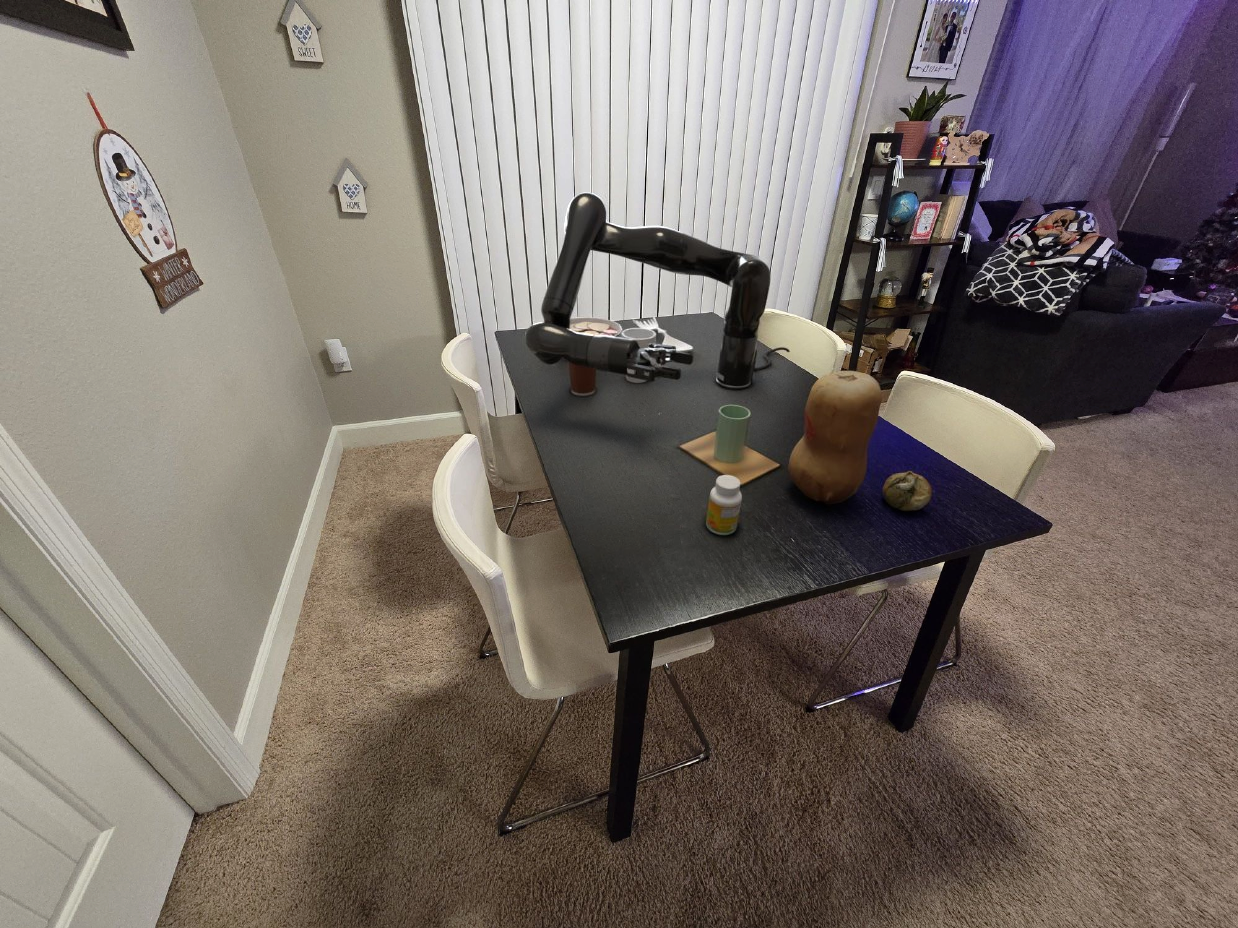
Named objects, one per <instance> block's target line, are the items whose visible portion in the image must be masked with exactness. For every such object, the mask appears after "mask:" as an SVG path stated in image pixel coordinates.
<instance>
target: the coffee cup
mask: <svg viewBox="0 0 1238 928" xmlns="http://www.w3.org/2000/svg"><path fill="white" fill-rule="evenodd" d="M567 365H568V366H567V367H568V374H569V380H570V389H571V393H572V394H573V395H576V396H580V397H585V396H586V397H587V396H590V395H593V394H594V393H595V392H596V384H597V371H598V370H597V369H594V368H590V367H584V366H578V365H574V364H572V363H570V362H568V361H567Z"/></svg>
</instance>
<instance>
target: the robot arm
mask: <svg viewBox="0 0 1238 928" xmlns="http://www.w3.org/2000/svg"><path fill="white" fill-rule="evenodd" d="M607 220H608V212H607V207H606V205H605V203H604V201H603V200H602V198H601V197H599V196H598V195H596V194H595V193H592V192H582V193H579V194H577V195H575V196H574V197H573V198H572V199H571V201H570V203H569V204H568V207H567V210H566V215H565V219H564V227H563V228H564V238H563V242H562V246H561V249H560V252H559V255H558V257H557V259H556V263H555V266H554V268H553V271H552V273H551V276H550V279H549V282H548V284H547V288H546V290H545V294H544V297H543V300H542V303H541V307H540V312H541V316H542V319H543V321H540V322H536V323H534V324H531V325H530V326H529V327H528V328H527V329H526V331H525V333H524V342H525V345H526V347H527V348H528V350H529V351H530V352H531V353H532V354H533V355H534V356H535V357H536V358H537V359H539V361H540V362H542V363H543V364H545V365H550V366H551V365H552V366H553V365H555V364H558V363H559V362H560V361H562V359H564V360H566V361H567V363H568V362H570V363H572V364H574V365H578V366H584V367H590V368H594V369H597V370H596V371H600V372H605V373H606V372H607V373H612V374H617V375H623V376H626V375H627V376H628V377H632V378H637V379H642V380H647V381H646V382H655V381H656V379H658V380H659V379H661V378H664V379H668V380H675V381H679V380H680V379H681V376H682V375H681V374H682V373H681V372H682V370H681V368H680V367H674V366H668V365H666V364H668V363H675V364H683V365H688V366H691V365H692V364H693V362H694V354H693V353H691V352H690V353H689V352H686V353H684V352H678V351H676V346H670V345H662V343H655V344H654V343H650V344H649V348H645V349H644V348H642V349H641V348H640V347H639V345H638V342H637V341H636V340H634V339H627V338H621V336H618V337H614V336H607V335H593V334H586V333H578V332H575V331H572V330H570V319H571V318H572V315H573V313H574V309H575V307H576V303H577V301H578V296H579V293H580V290H581V286H582V281H583V277H584V274H585V270H586V265H587V262H588V259H589V256H590V253H591V251H593V252H597V253H603V254H609V255H614V256H617V257H621V258H625V259H628V260H631V261H634V262H638V263H641V264H645V265H648V266H651V267H653V268H656V269H659V270H662V271H665V272H669V273H672V274H677V275H684V276H700V277H705V278H709V279H711V280H715V281H718V282H720V283H722V284H724V285H726V286H728V287H730V288H731V293H730V299H729V305H728V307H727V309H726V310H725V312H724V318H723V319H724V320H723V328H722V334H721V342H720V351H719V358H718V365H717V371H716V372H715V376H716V378H715V382H716V384H717V385H718V386H720V387H723V388H726V389H729V390H743V389H747V388H748V387H750V385H751V383H753V378H754V373H755V371H761V370H764V369H766V368H768V367H769V366H771V364H772V361H771V359H770V357H768V355H770V354H772V353H775V352H777V351H785V352H786V353H790V352H791V351H790V349H789V348H787V347H784V346H782V347H776V348H772V349H770V350H768V351H766V352H765V353H764V359H765V360H766V361H767V362H768V363H767V364H765V365H763V366H759V367H756V363H757V356H758V349H757V343H758V339H759V331H760V325H761V320H762V318H763V315H764V313H765V310H766V307H767V301H768V297H769V293H770V286H771V270H770V268H769V266H768V265H767V264H766V262H764V260H762V259H761V258H759V257H758V256H757V255H754V254H750V253H745V252H739V251H735V250H734V251H733V250H730V249H726V248H725V249H724V248H722V247H717V246H715V245H712V244H710V243H708V242H706V241H704V240H702V239H700V238H697V237H694V236H692V235H689V234H687V233H684V232H682V231H678V230H676V229H673V228H669V227H667V226H660V225H647V226H637V227H635V226H634V227H628V226H627V227H625V226H621V225H617V224H615V223H611V222H608V221H607ZM665 349H668V350H665ZM644 373H645V374H646V375H648V376H646V375H645V374H644Z"/></svg>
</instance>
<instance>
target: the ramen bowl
mask: <svg viewBox="0 0 1238 928" xmlns="http://www.w3.org/2000/svg"><path fill="white" fill-rule="evenodd" d="M570 330H572V331H575V332H578V333H586V334H593V335H607V336H614V337H620V336H621V333H622V331H623V327H622V326H621V324H620V323H618V322H616V321H614V320H611V319H606V318H602V317H590V316H586V317H584V316H583V317H571V318H570Z"/></svg>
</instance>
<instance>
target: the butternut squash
mask: <svg viewBox="0 0 1238 928" xmlns="http://www.w3.org/2000/svg"><path fill="white" fill-rule="evenodd" d="M882 402H883V396H882V390H881V386H880V383H879V382H878V380H876V379H875V378H874V377H873V376H871V375H870V374H868V373H864V372H860V371H855V370H838V371H834V372H831V373H827V374H824V375H822V376H821V377H819V378H817V380H816V381H815V382H814V384H813V385H812V386H811V389H810V392H809V395H808V397H807V401H806V404H805V407H804V420H803V421H804V422H803V423H804V427H803V428H804V432H803V433H804V434H803V436H802V438H800V439H799V441H797V443H796V445H795V446H794V447H793V450H792V452H791V453H790V457H789V460H788V464H787V471H788V475H789V477H790V480H791V482H792V483H794V485H795V486H796V487H797V488H798V489H799V490H800V491H801V492H802V493H803V495H804V496H806V497H807V498H809V499H811V500H814V501H816V502H822V503H824V504H826V505H834V504H839V503H843V502H844V501H846V500H847V499H849V498H851V497H853V495H855V494H856V493H857V492H858V491H859V489H860V488H861V485H862V484H863V482H864V480H865V479H866V478H865V477H866V475H867V467H868V465H867V464H868V446H869V443H870V440H871V437H872V436H873V433H874V431H875V430H876V427H877V423H878V420H879V419H878V418H879V413H880V409H881V404H882Z"/></svg>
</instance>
